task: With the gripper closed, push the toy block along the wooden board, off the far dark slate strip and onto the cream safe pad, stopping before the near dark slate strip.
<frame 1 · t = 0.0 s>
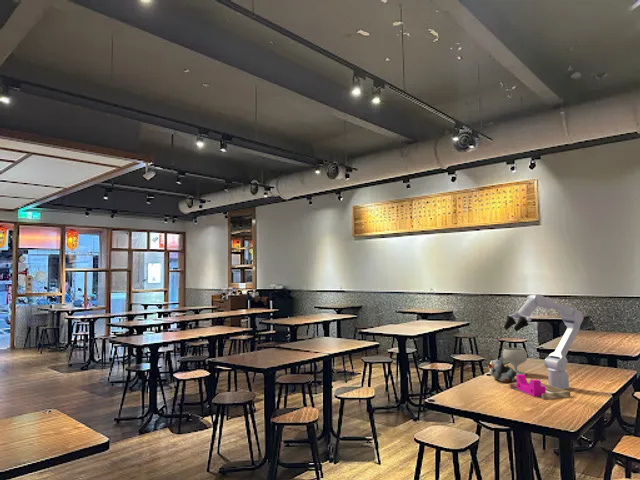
hand: (510, 329, 234), 32 cm above the table, tool tilted 50°, fingers open, 7 cm apart
grey plush toy: (502, 380, 257), on the table
toy block: (531, 392, 230), resting on wooden board
chalice: (515, 374, 275), on the table
wooden board: (539, 391, 231), on the table
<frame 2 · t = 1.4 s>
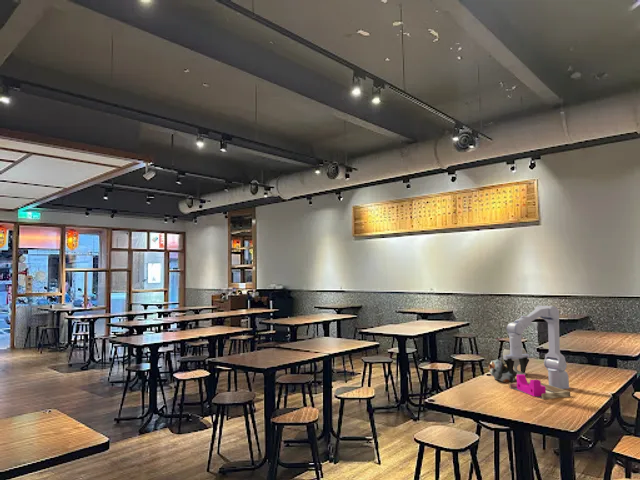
hand: (517, 373, 228), 10 cm above the table, tool pointing down, fingers open, 7 cm apart
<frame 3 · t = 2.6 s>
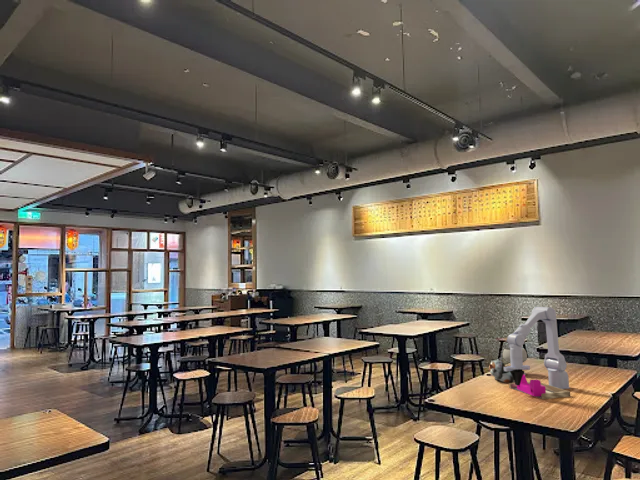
hand: (517, 384, 228), 5 cm above the table, tool pointing down, fingers closed
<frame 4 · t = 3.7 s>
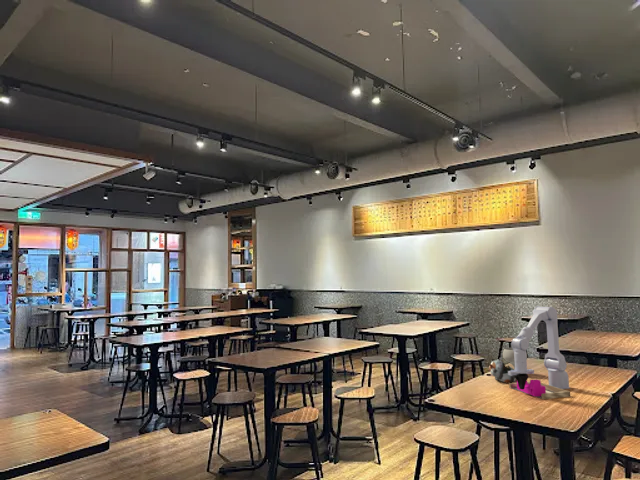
hand: (521, 388, 228), 2 cm above the table, tool pointing down, fingers closed
toy block: (531, 392, 230), resting on wooden board, touching gripper
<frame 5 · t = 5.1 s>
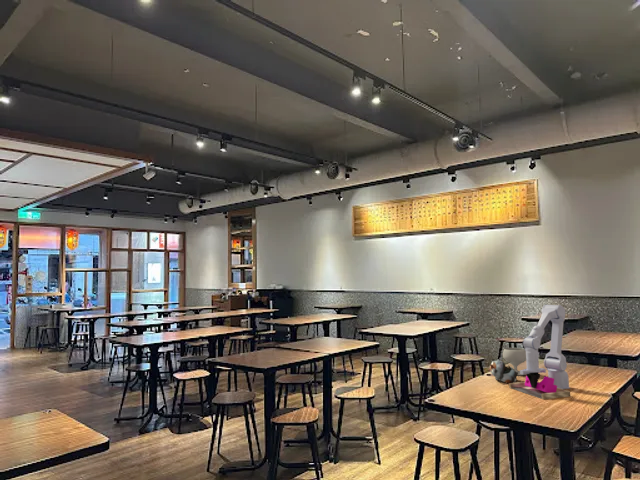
hand: (533, 387, 230), 2 cm above the table, tool pointing down, fingers closed
toy block: (539, 390, 231), point 1 cm above the table, touching gripper, wooden board
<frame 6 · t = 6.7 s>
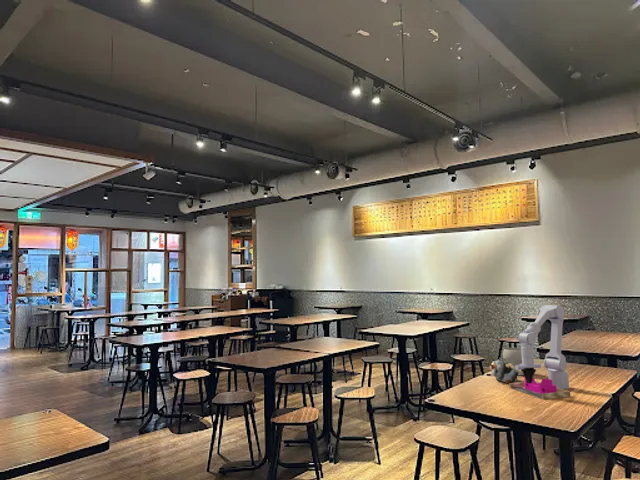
hand: (529, 383, 230), 5 cm above the table, tool pointing down, fingers closed
toy block: (540, 391, 231), resting on wooden board
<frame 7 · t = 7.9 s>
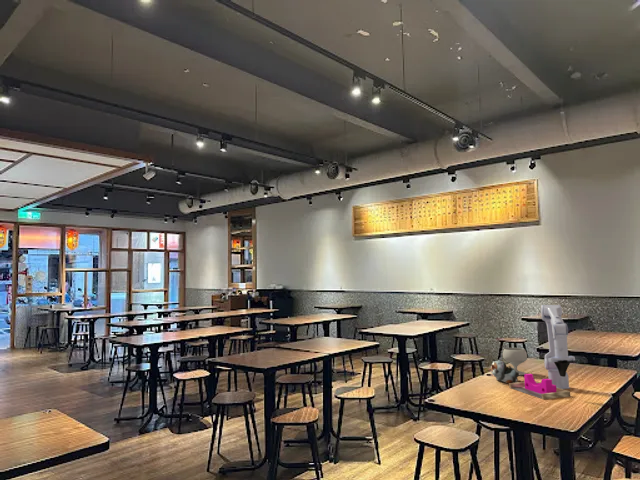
hand: (562, 376, 220), 10 cm above the table, tool pointing down, fingers closed
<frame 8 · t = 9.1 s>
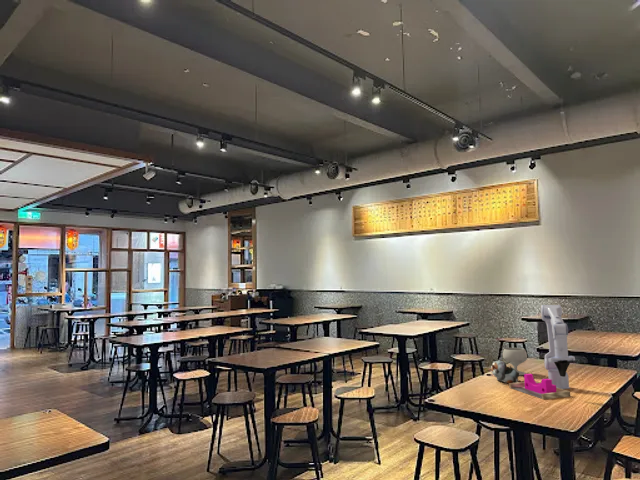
hand: (562, 376, 220), 10 cm above the table, tool pointing down, fingers closed
at the end: toy block inside the target area (0.8 cm from its centre), resting on wooden board; toy block tilted 0°; toy block moved 5.7 cm from its start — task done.
